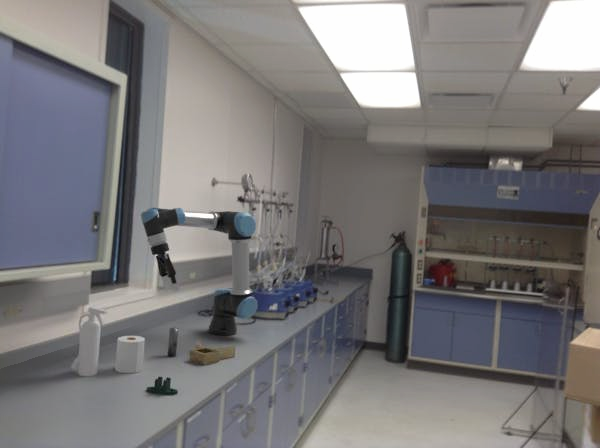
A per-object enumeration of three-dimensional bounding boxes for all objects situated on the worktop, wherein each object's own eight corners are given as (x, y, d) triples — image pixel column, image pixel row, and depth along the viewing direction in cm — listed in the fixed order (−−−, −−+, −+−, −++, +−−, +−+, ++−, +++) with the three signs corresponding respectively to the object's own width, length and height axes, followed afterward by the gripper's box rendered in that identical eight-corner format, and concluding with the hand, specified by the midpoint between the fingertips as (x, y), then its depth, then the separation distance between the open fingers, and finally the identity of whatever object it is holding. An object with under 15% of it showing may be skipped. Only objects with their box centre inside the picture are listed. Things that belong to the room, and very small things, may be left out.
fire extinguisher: (77, 367, 202) (83, 303, 200) (105, 373, 199) (111, 308, 198) (65, 372, 195) (71, 306, 194) (94, 379, 192) (100, 311, 191)
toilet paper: (134, 374, 199) (136, 343, 199) (109, 371, 202) (112, 339, 201) (147, 367, 209) (149, 337, 209) (123, 364, 211) (126, 334, 211)
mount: (179, 392, 186) (180, 378, 185) (175, 396, 181) (176, 382, 181) (149, 389, 186) (150, 374, 186) (144, 393, 182) (145, 378, 182)
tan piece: (208, 348, 245) (209, 339, 245) (236, 357, 234) (237, 347, 234) (175, 355, 229) (175, 345, 229) (203, 365, 219) (204, 354, 218)
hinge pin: (172, 354, 231) (174, 327, 231) (177, 356, 229) (180, 328, 228) (165, 355, 228) (168, 328, 228) (171, 357, 226) (173, 329, 226)
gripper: (144, 248, 240) (158, 292, 241) (156, 245, 218) (171, 294, 219) (160, 243, 244) (173, 287, 245) (173, 240, 222) (188, 288, 223)
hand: (172, 290), depth 232 cm, fingers open, 13 cm apart
